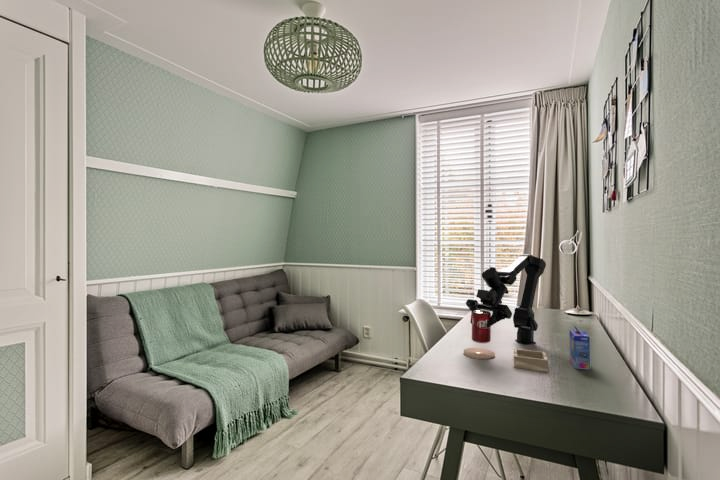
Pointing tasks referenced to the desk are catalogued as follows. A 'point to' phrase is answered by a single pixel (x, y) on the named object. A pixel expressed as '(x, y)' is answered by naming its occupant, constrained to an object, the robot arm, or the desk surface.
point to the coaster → (479, 353)
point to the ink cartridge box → (579, 349)
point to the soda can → (481, 326)
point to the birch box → (530, 360)
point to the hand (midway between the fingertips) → (479, 324)
